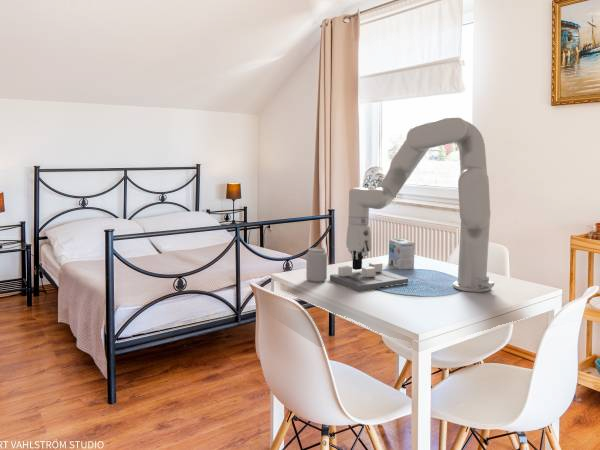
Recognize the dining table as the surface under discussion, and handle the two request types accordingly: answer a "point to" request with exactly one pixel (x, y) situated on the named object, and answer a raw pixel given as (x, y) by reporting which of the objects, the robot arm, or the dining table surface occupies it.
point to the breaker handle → (368, 271)
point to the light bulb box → (401, 253)
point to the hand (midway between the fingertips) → (357, 268)
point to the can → (316, 265)
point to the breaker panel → (366, 278)
